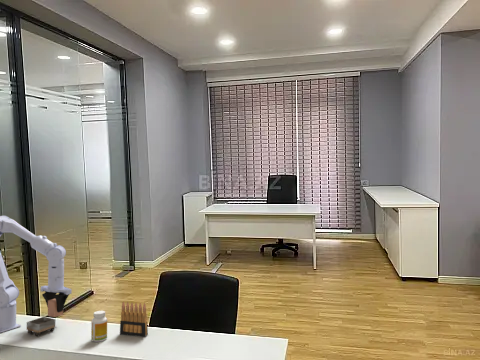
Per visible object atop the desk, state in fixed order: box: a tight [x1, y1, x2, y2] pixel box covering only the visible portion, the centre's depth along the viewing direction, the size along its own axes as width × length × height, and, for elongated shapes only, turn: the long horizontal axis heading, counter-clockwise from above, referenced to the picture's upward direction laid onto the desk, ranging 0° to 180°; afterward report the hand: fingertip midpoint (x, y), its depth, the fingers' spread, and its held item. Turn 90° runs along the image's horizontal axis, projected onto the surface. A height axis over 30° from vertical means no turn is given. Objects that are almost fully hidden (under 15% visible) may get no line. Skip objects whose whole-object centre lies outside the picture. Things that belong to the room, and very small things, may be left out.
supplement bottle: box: [90, 310, 108, 343], centre depth 137 cm, size 5×5×10 cm
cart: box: [26, 316, 56, 337], centre depth 144 cm, size 7×7×4 cm
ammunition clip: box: [119, 301, 149, 338], centre depth 142 cm, size 11×2×12 cm, turn 76°
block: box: [47, 299, 64, 318], centre depth 152 cm, size 4×4×6 cm
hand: (55, 310), depth 152 cm, fingers closed on block, 4 cm apart
